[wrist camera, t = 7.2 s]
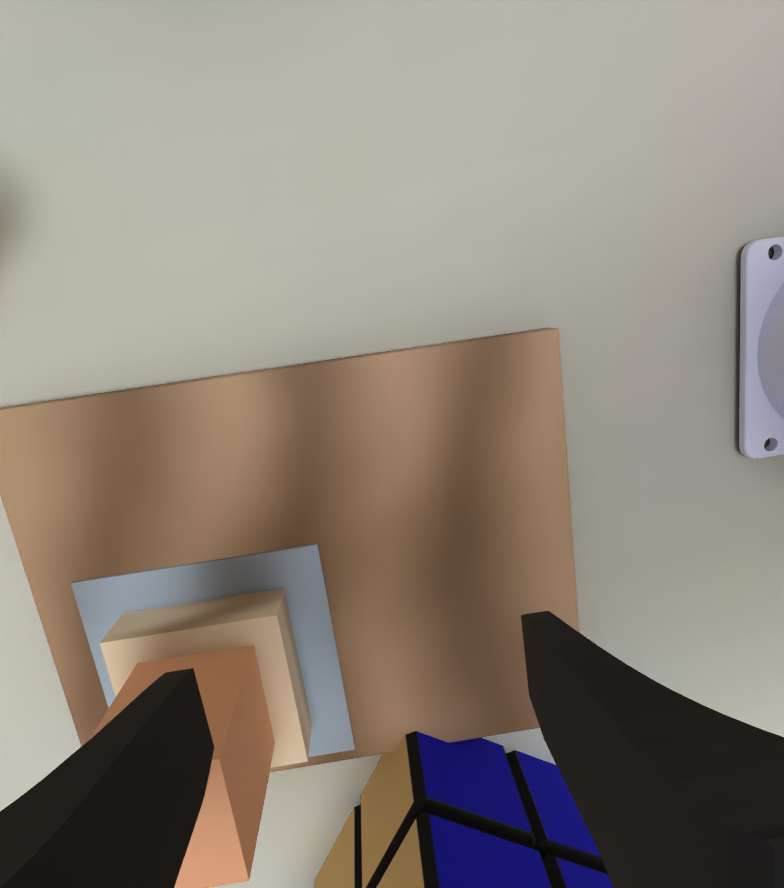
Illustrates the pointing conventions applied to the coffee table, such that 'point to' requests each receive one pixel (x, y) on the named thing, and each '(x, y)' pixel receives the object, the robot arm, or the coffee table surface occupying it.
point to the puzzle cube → (463, 823)
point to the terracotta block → (220, 760)
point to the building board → (308, 536)
